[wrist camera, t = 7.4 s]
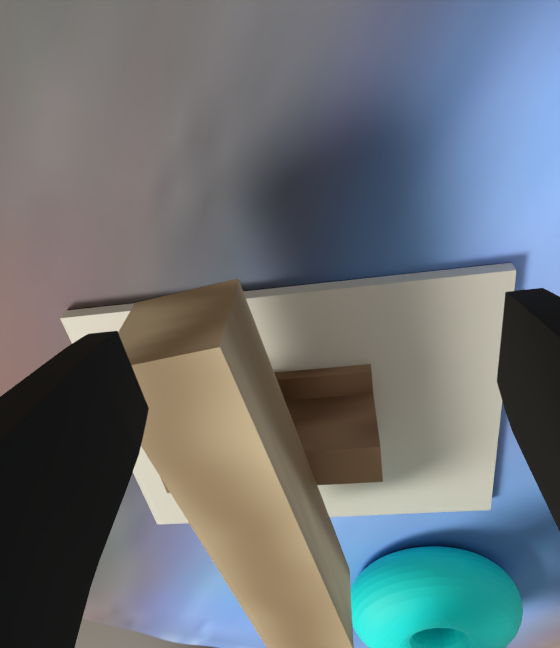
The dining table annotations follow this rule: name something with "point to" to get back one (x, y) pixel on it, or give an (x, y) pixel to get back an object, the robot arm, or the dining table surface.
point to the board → (384, 379)
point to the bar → (239, 463)
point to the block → (335, 422)
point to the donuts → (435, 601)
